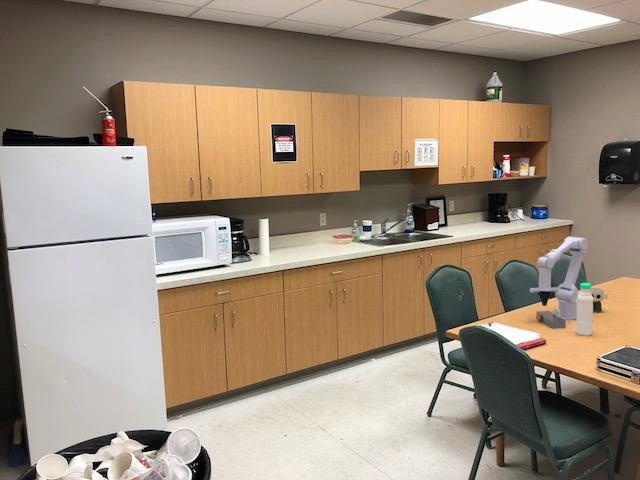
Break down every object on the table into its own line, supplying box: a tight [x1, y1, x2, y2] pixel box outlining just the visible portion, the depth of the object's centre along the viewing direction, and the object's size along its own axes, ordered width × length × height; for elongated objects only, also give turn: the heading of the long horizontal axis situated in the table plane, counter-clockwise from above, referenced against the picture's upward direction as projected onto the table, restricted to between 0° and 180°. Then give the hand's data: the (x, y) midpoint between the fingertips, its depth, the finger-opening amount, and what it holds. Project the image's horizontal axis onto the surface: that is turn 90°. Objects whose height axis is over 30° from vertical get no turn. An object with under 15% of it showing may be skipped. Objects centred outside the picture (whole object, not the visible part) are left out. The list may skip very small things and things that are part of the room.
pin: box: [536, 315, 542, 322], centre depth 274 cm, size 11×3×3 cm, turn 91°
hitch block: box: [535, 310, 567, 329], centre depth 270 cm, size 7×18×5 cm, turn 1°
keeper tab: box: [553, 307, 560, 317], centre depth 265 cm, size 1×5×4 cm, turn 1°
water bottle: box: [575, 282, 594, 337], centre depth 250 cm, size 7×7×25 cm
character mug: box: [590, 287, 608, 313], centre depth 289 cm, size 11×7×13 cm, turn 53°
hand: (544, 305), depth 270 cm, fingers closed
